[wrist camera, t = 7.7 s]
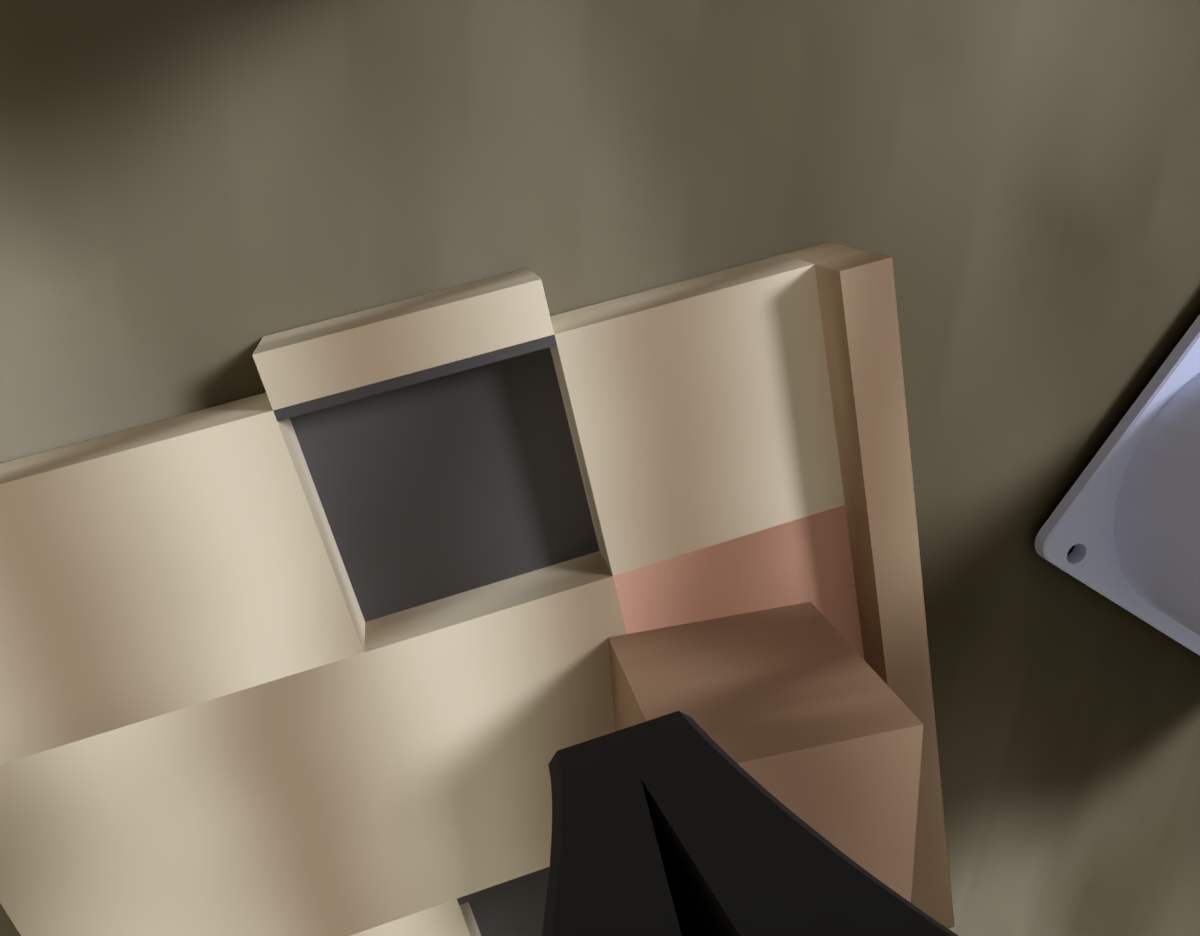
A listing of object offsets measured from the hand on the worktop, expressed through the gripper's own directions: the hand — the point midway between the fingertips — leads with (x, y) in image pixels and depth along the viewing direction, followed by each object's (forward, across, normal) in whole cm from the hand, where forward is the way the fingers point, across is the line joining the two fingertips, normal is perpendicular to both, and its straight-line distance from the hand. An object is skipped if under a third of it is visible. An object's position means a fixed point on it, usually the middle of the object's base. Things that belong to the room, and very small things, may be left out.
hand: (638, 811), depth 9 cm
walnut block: (+9, -3, +6) cm, 11 cm away
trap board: (+10, +2, +6) cm, 12 cm away
